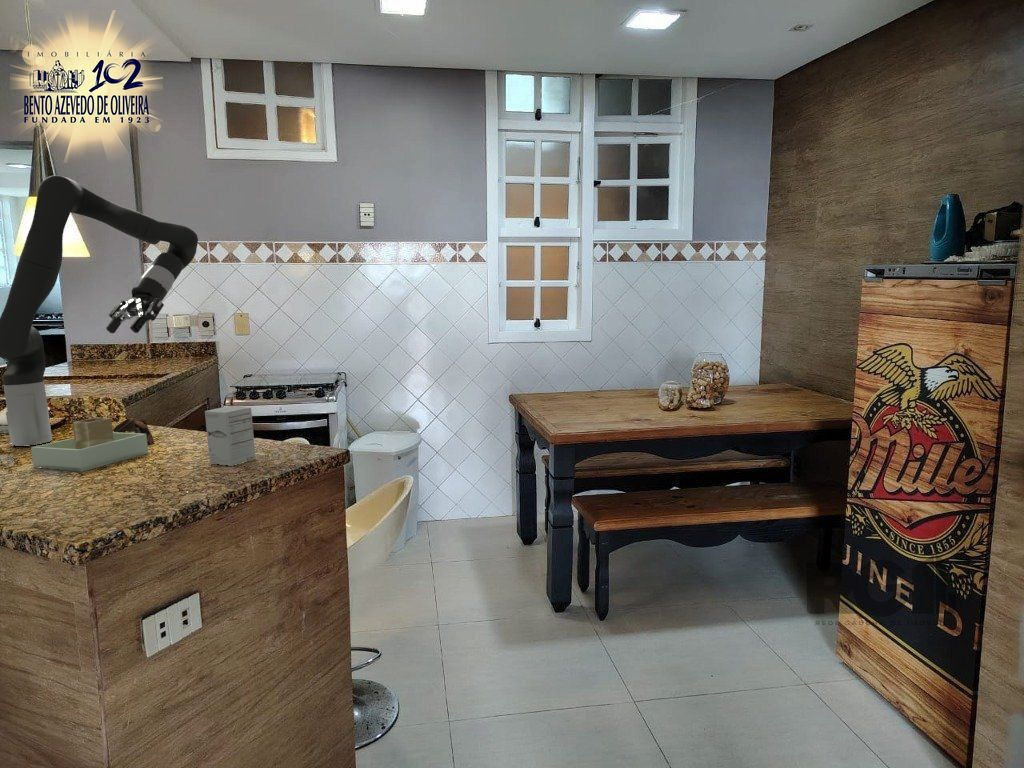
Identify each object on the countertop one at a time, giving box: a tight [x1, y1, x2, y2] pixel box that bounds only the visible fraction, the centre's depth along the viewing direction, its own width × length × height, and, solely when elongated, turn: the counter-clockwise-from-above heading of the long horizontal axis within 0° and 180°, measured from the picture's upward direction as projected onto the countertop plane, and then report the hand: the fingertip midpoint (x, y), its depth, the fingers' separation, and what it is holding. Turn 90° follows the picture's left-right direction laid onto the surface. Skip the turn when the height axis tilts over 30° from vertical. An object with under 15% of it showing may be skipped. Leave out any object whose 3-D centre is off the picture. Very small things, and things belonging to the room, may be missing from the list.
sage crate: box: [30, 431, 149, 472], centre depth 167 cm, size 16×18×5 cm
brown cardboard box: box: [72, 417, 114, 449], centre depth 167 cm, size 6×6×9 cm
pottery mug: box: [112, 417, 155, 445], centre depth 185 cm, size 12×10×8 cm
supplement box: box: [204, 405, 256, 467], centre depth 158 cm, size 7×7×13 cm
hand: (121, 331), depth 176 cm, fingers open, 8 cm apart
